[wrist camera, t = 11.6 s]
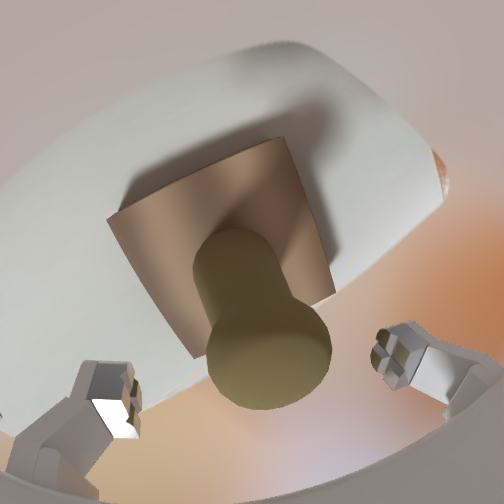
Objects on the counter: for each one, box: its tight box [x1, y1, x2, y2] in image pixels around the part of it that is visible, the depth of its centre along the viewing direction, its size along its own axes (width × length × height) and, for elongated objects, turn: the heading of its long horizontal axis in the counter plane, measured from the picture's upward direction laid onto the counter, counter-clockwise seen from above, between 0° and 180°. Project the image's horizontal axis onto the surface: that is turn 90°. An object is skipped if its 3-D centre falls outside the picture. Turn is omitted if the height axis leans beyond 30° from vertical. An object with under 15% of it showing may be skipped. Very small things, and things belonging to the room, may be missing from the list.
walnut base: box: [107, 137, 336, 359], centre depth 20 cm, size 13×13×3 cm
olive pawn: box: [192, 228, 332, 410], centre depth 14 cm, size 6×6×11 cm
